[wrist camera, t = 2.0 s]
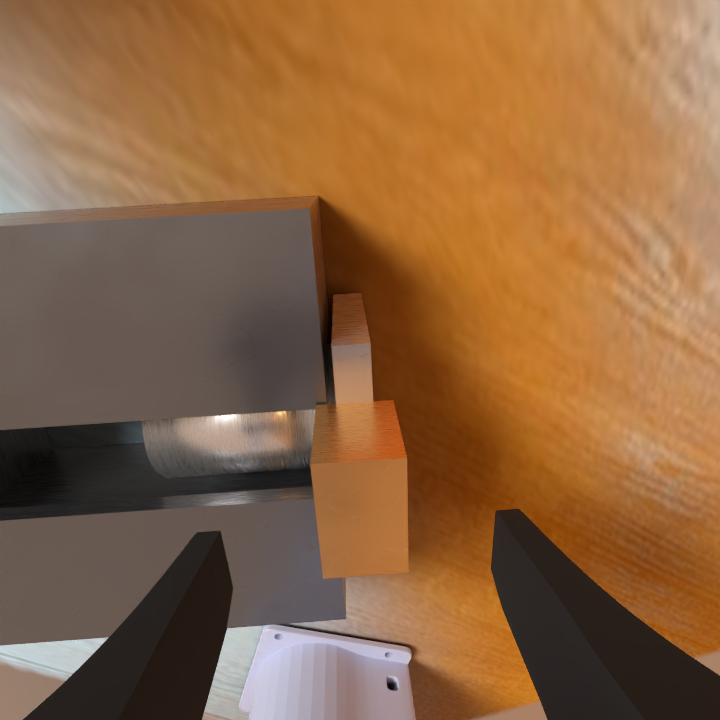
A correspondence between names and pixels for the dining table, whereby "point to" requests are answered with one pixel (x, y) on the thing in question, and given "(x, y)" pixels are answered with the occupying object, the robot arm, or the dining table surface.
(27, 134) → the dining table surface
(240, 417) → the end cover
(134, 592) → the housing
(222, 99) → the dining table surface
